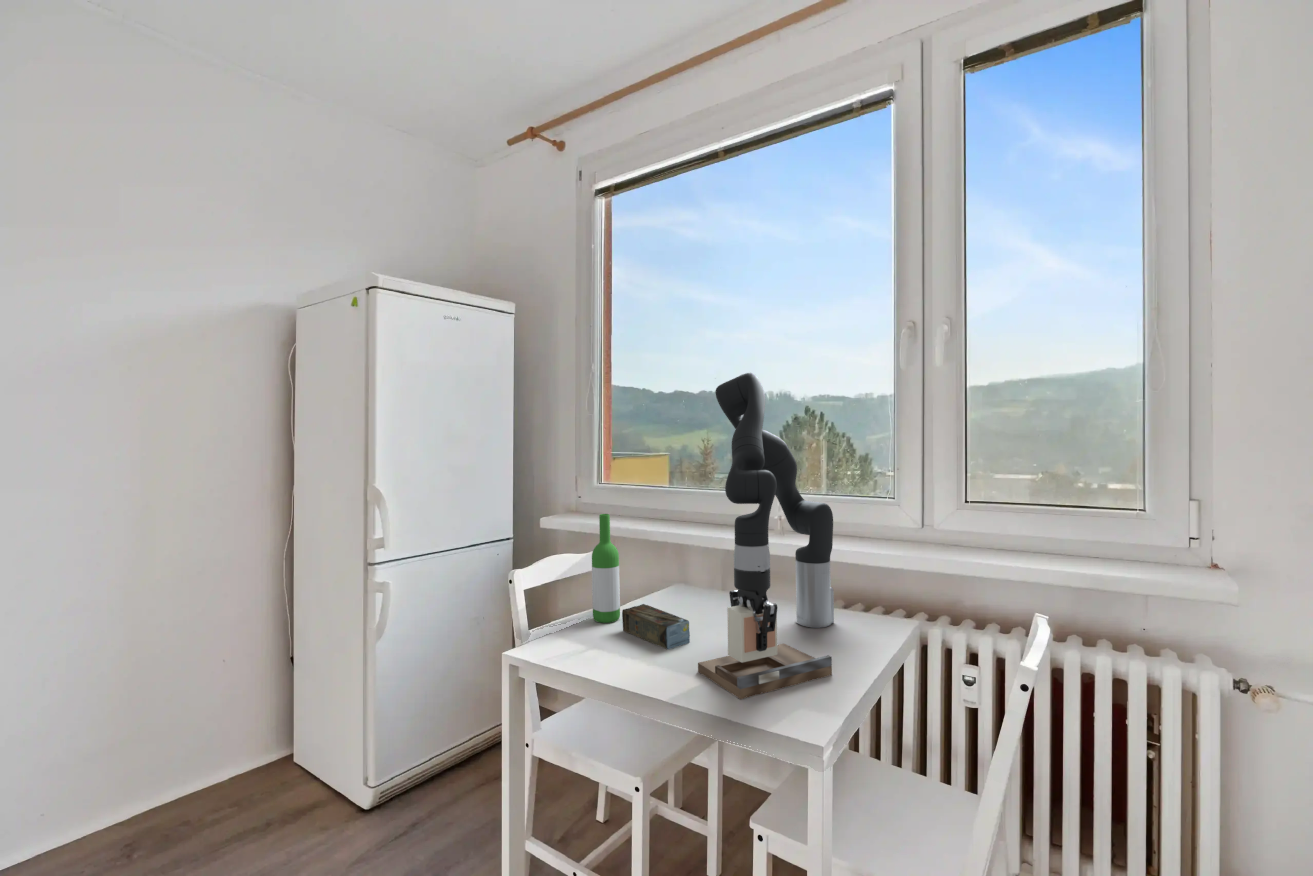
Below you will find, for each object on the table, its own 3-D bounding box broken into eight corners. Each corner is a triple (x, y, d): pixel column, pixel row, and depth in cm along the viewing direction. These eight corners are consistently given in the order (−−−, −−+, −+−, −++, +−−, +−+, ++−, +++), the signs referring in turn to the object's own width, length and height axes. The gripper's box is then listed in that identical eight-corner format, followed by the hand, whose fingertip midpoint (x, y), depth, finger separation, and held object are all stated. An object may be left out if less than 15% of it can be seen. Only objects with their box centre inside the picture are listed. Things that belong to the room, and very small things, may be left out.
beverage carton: (666, 651, 147) (666, 624, 147) (620, 632, 162) (620, 607, 162) (691, 643, 152) (690, 617, 152) (644, 625, 167) (643, 602, 167)
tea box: (728, 654, 127) (727, 607, 127) (762, 647, 131) (762, 601, 131) (742, 663, 123) (742, 613, 123) (778, 655, 127) (777, 607, 127)
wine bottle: (606, 614, 178) (604, 512, 178) (625, 618, 173) (623, 513, 173) (587, 620, 172) (585, 515, 172) (606, 625, 167) (604, 517, 167)
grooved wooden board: (783, 651, 145) (783, 635, 145) (832, 675, 130) (832, 657, 130) (698, 671, 134) (697, 653, 134) (741, 700, 119) (740, 679, 119)
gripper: (718, 561, 132) (719, 639, 132) (758, 574, 119) (759, 660, 119) (746, 557, 135) (747, 633, 135) (788, 569, 122) (789, 653, 122)
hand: (753, 645), depth 127 cm, fingers closed on tea box, 5 cm apart
